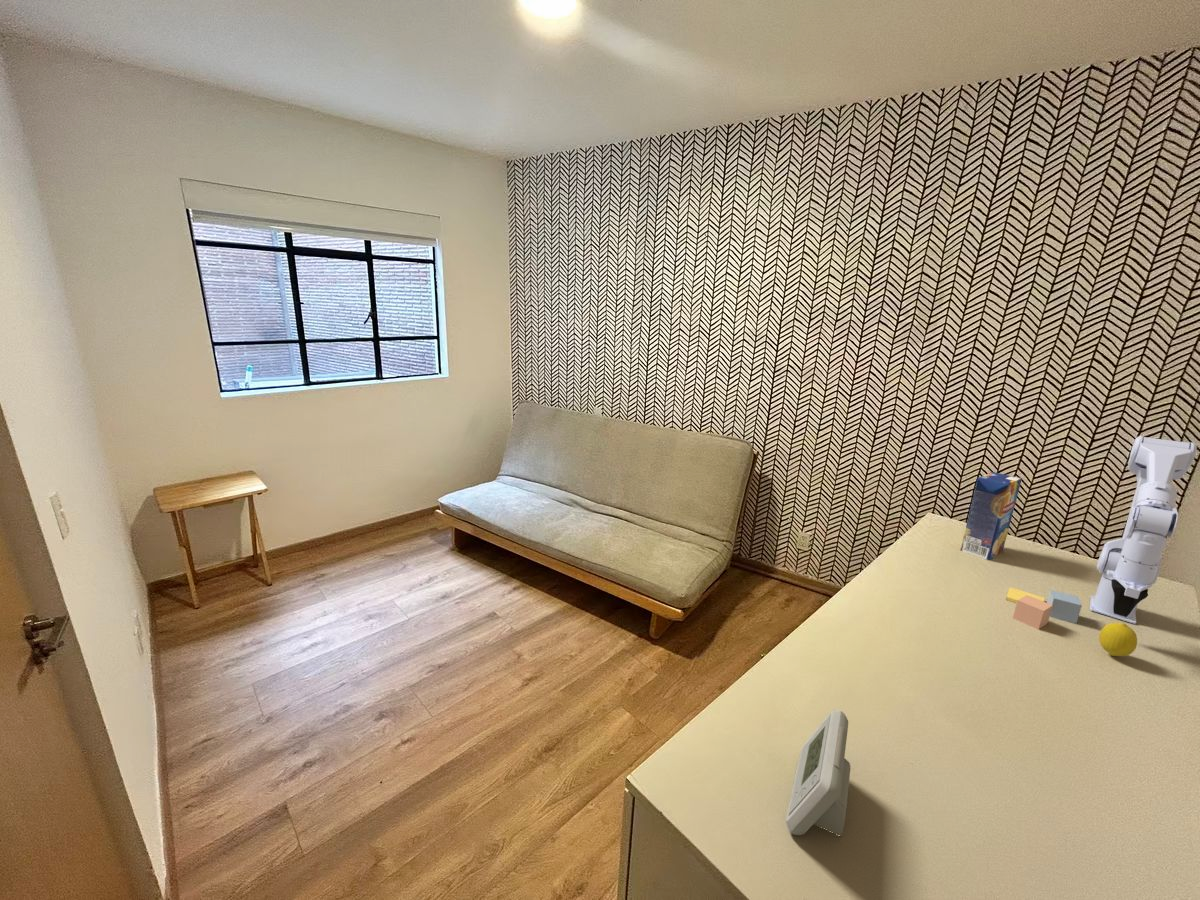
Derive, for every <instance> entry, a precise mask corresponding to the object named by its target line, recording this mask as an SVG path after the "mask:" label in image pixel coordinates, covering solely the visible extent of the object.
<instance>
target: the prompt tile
mask: <svg viewBox="0 0 1200 900" xmlns="http://www.w3.org/2000/svg"><path fill="white" fill-rule="evenodd" d="M1026 595H1028V596H1031V597H1033V598H1036V599H1038V600H1041V601H1043V602H1045V597H1043V596H1040V595H1037V594H1033V593H1031V592H1027V591H1024V590H1022V589H1021V590H1020V589H1017V588H1014V587H1011V586H1010V587H1009V589H1008V592H1007V594H1006V596H1005V597H1006V598H1005V600H1006V601H1009V602H1012V603H1016V604H1017V601H1018V600H1019V599H1021V598H1023V597H1024V596H1026Z"/></svg>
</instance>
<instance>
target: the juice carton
mask: <svg viewBox="0 0 1200 900" xmlns="http://www.w3.org/2000/svg"><path fill="white" fill-rule="evenodd" d="M1022 479H1023V478H1022V477H1017V476H1013V475H1010V474H1009V475H1008V474H1004V473H1000V472H994V471H990V472H989V473H986V474H984V475H981V476H978V477H977V479H976V484H975V487H974V492H973V496H972V501H971V505H970V508H969V513H968V518H967V521H966V525H965V530H964V534H963V538H962V543H961V546H960V552H963V553H966V554H968V555H972V556H975V557H978V558H979V559H984V560H986V561H990V560H991V559H993V558H995V557H996V556H998V555H999V554H1000V553H1002V552H1003V551H1004V549H1005V548H1004V547H1005V543H1006V541H1007V537H1008V533H1009V529H1010V526H1011V522H1012V517H1013V514H1014V510H1015V506H1016V503H1017V498H1018V495H1019V491H1020V488H1021V484H1022Z"/></svg>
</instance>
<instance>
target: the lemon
mask: <svg viewBox="0 0 1200 900" xmlns="http://www.w3.org/2000/svg"><path fill="white" fill-rule="evenodd" d="M1098 635H1099V636H1098V640H1099V641H1098V642H1099V644H1100V646H1101V647H1102V649H1104V651H1106V652H1107V653H1108V654H1109V655H1110V656H1112V657H1126V656H1129V655H1131V654H1132V653H1134V652H1135V651H1136V648H1137V646H1138V636H1137V633H1136V632H1135V631H1134V630H1133V628H1132V627H1130V626H1129V625H1127V624H1126V623H1124V622H1112V623H1111V622H1110V623H1108V624H1105V626H1103V627H1102V629H1101V630H1100V632H1099V634H1098Z"/></svg>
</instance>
